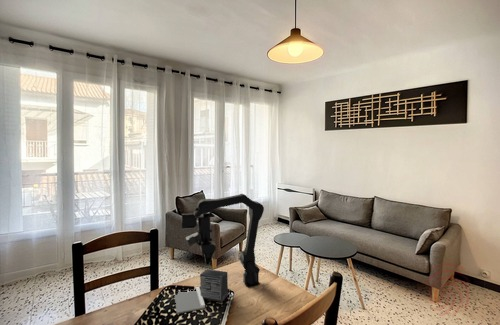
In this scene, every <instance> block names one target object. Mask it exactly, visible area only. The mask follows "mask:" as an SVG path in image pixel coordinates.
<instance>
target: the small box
mask: <svg viewBox="0 0 500 325" xmlns="http://www.w3.org/2000/svg"><path fill="white" fill-rule="evenodd" d="M199 276H200V278H199V280H200V291H201V296H202V297H203V300H209V301H213V302H218V303H223V302H224V301H225V299H226V298H227V297H228V296H229V285H228V277H229V276H228V271H225V270H224V271H223V270H215V269H209V268H207V269H205V270H204V271H202V272H200V274H199Z"/></svg>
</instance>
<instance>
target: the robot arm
mask: <svg viewBox="0 0 500 325" xmlns="http://www.w3.org/2000/svg"><path fill="white" fill-rule="evenodd" d="M238 204H243V205H245V206H246V207H248V215H249V222H248V228H247V233H246V234H247V235H246V241H245V242H246V243H245V247H244V250H240V256H239V261H240V264H241V265H242V267H243V269H244V273H243V281H242V282H243V283H244V285H245V286H246V287H247V288H250V287H256V286H260V285H261V283H260V281H259V280H260V279H259V278H260V277H259V275H260V274H259V273H260V272H261V271H260V270H261V269H260V268H259V266H258V265H257V264H256V255H255V254H256V253H255V247H256V242H257V234H258V228H259V223H260V221H261V219H262V217H263V214H264V211H265V207H264V205H263V204H262V203H261V202H260V201H259V202H258V201H256V200H255V201H254V200H253V199H251V198H250V197H248V196H247V195H246V194H244V193H239V194H236V195H231V196H226V197H221V198H202V199H200V200H199V201H198V202H197V205H196V208H195V209H194V211H193V213H192V212H191V213H182V214H181V230H189V229H195V227H196V226H198V227H197V229H196V232H194V233H192V234H189V235H187V236H185V241H186V243H187V245H188V247H192V246H193V245H194V244H196V245H198V246H199V248H200V252H201V256H202V258H204V261H205V265H210V262H211V259H212V257H213V256H214V253H215V252H216V251H217V246H216V244H215V242H213V238H212V232H213V230H212V226H211V225H212V224H211V222H212V220H211V218H215V217H216V215H215V214H214V213H213V211H215V210H216V209H219V208H220V209H221V208H224V207H228V206H229V207H230V206H234V205H238Z"/></svg>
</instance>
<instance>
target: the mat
mask: <svg viewBox="0 0 500 325" xmlns="http://www.w3.org/2000/svg"><path fill="white" fill-rule="evenodd" d="M195 289H196V291H191V290H192V289H189V290H190V291H189V292H188V293H187V292H181V291H177V292H178V294H179V295H175V296H174V303H176V304H175V311H176V315H178V314H184V313H188V312H193V311H199V310H203V309H206V304H205V299H203V297H202V296H201V287H200V286H195Z"/></svg>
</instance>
